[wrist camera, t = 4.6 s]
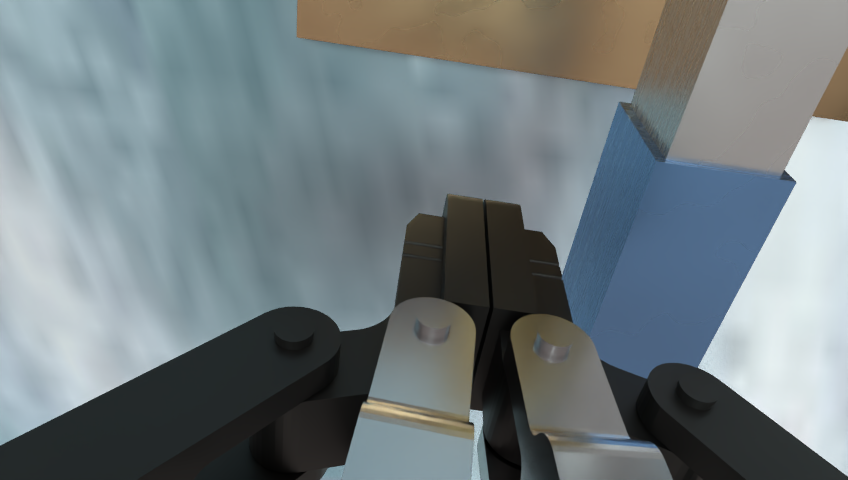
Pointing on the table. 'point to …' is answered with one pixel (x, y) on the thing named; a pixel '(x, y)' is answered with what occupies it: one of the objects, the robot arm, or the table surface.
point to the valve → (518, 36)
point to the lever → (697, 173)
